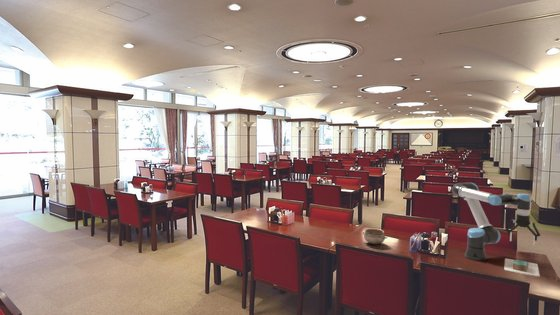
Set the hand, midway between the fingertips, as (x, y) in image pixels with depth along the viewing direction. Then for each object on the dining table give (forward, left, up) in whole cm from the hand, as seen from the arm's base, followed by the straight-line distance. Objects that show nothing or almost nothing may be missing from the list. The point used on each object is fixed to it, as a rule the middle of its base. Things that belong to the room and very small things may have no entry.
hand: (522, 242), depth 230 cm
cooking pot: (-78, +76, -20) cm, 111 cm away
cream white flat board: (+1, +1, -19) cm, 19 cm away
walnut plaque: (+3, +2, -17) cm, 17 cm away
